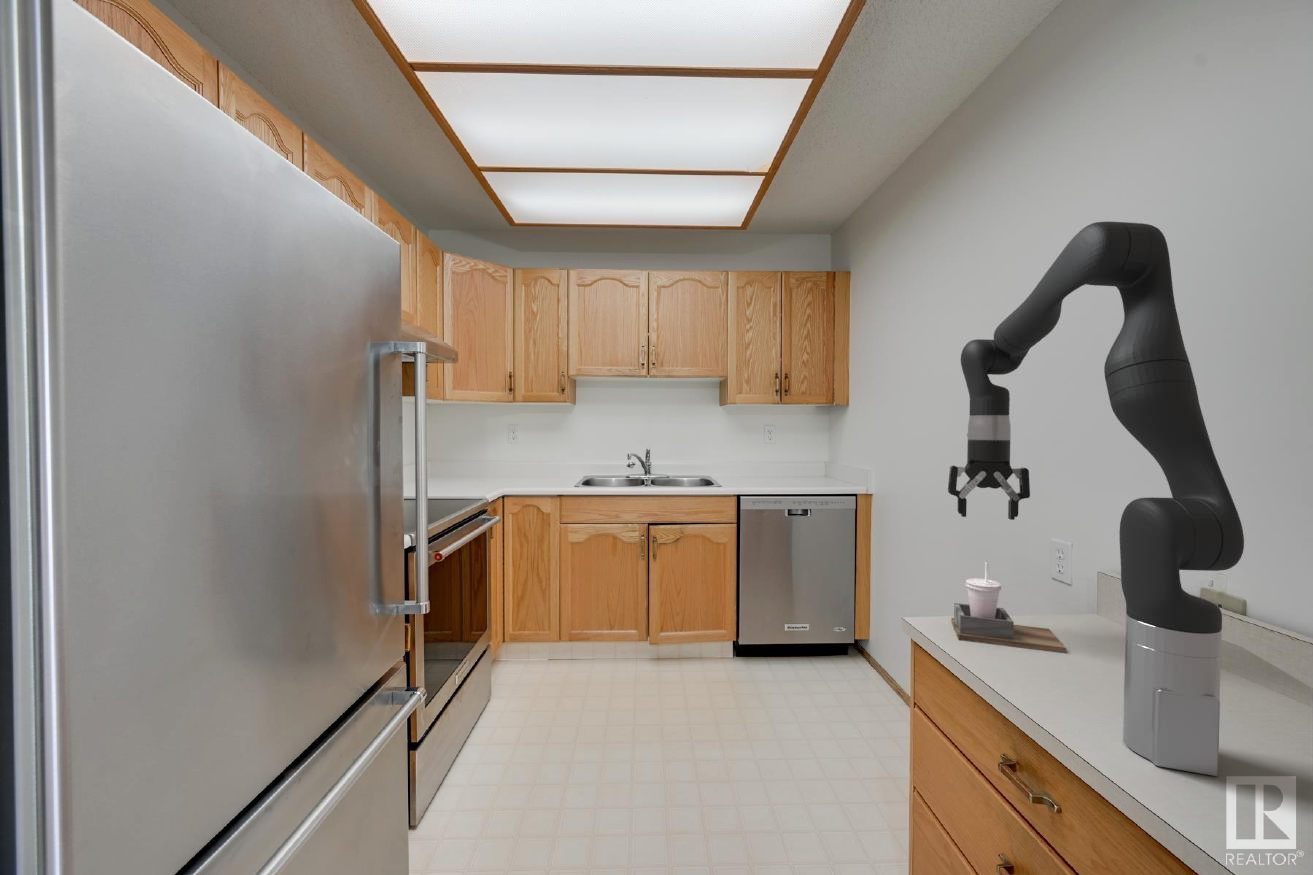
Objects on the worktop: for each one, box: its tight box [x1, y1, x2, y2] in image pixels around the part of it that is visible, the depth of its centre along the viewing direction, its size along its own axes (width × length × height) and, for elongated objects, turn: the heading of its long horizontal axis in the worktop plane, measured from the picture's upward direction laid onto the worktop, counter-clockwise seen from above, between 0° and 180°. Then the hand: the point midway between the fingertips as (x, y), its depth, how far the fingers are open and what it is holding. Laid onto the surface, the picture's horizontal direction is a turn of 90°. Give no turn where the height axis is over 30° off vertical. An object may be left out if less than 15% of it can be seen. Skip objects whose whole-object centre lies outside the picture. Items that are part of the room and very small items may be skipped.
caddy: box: [950, 602, 1067, 654], centre depth 116 cm, size 11×18×4 cm, turn 69°
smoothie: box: [965, 561, 1002, 619], centre depth 117 cm, size 6×6×14 cm
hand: (987, 517), depth 116 cm, fingers open, 8 cm apart
